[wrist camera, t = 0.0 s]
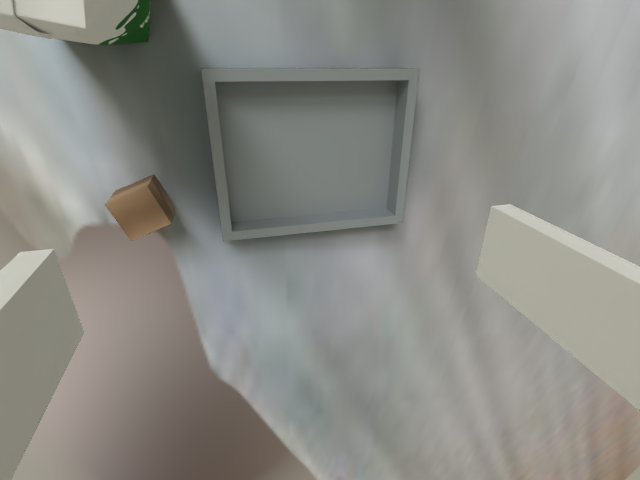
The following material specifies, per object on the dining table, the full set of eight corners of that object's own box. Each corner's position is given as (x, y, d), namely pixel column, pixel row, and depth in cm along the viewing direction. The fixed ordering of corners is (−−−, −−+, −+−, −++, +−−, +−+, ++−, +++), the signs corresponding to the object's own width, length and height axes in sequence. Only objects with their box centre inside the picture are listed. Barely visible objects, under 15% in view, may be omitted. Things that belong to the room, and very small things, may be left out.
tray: (202, 68, 33) (200, 68, 30) (405, 68, 37) (419, 68, 34) (222, 229, 40) (222, 241, 37) (391, 213, 44) (402, 223, 41)
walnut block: (115, 190, 35) (104, 204, 32) (154, 174, 36) (147, 186, 32) (139, 224, 37) (131, 241, 34) (175, 208, 38) (171, 223, 34)
